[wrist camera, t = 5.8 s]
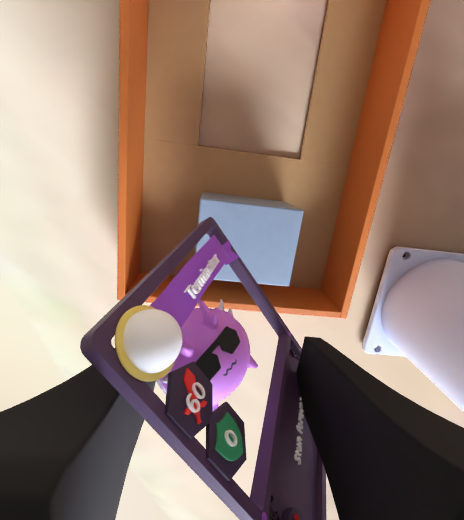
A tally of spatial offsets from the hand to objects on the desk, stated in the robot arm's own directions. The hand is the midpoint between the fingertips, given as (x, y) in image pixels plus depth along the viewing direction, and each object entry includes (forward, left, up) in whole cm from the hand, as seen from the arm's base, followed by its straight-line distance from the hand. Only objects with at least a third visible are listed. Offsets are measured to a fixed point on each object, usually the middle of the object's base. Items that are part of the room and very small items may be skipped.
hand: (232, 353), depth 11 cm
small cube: (-1, -3, -8) cm, 9 cm away
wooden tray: (-1, -9, -8) cm, 13 cm away
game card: (0, 0, -2) cm, 2 cm away
